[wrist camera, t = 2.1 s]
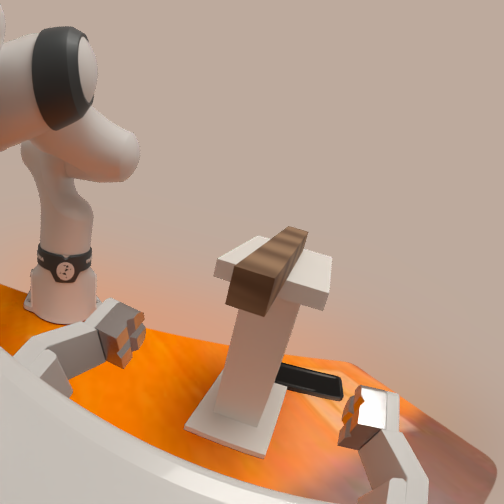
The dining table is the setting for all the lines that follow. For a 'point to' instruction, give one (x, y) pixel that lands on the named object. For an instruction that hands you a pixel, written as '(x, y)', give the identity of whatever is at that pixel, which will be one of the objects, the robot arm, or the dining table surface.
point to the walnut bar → (265, 272)
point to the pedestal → (257, 356)
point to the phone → (310, 382)
